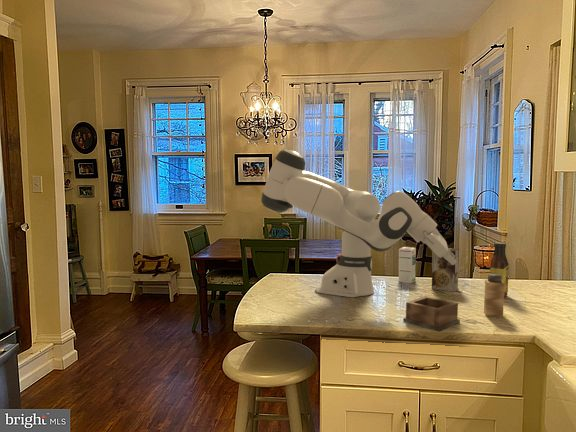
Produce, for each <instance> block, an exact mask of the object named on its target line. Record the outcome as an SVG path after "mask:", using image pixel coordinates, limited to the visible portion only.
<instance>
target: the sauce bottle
mask: <svg viewBox="0 0 576 432" xmlns="http://www.w3.org/2000/svg"><path fill="white" fill-rule="evenodd" d="M493 247H494V253H493V254H494V255H493V256H492V258H491V260H490V266H489V274H499V275H502V281H503V282H504V298H505V297H507V296H508V292H509V269H510V268H509V267H510V266H509V262H508V258H507V255H506V247H507V243H505V242H494V243H493Z"/></svg>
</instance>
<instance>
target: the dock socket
mask: <svg viewBox="0 0 576 432" xmlns="http://www.w3.org/2000/svg"><path fill="white" fill-rule="evenodd" d="M458 308H459V303H458V302H453V301H450V300H445V299H440V298H436V297H432V296H427V295H424V296H420V297H418V298H416V299H415V298H414V299H413V300H409V301H406V303H405V317H403V322H405V323H408V324H412V325H415V326H419V327H422V328H426V329H428V330H429V329H430V330H433V331H436V332H442V331H444V330H446V329H448V328H450V327H453V326H454V325H457V324H460V323H461V319H460V318H458V313H459V311H458V310H459V309H458Z"/></svg>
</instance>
